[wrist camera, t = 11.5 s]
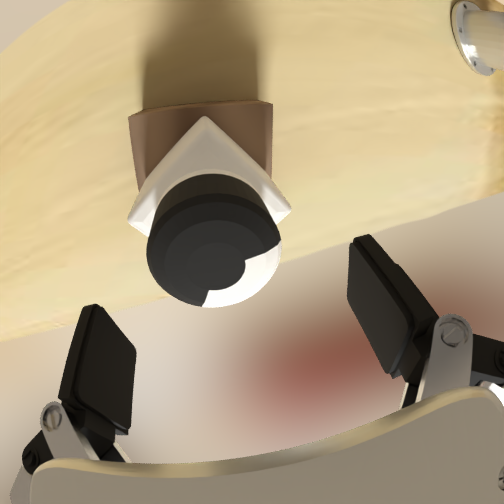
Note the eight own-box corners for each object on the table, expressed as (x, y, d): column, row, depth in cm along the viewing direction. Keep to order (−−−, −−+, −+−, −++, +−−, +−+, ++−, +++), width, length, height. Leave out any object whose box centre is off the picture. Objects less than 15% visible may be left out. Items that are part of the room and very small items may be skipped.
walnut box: (257, 100, 23) (272, 104, 19) (257, 200, 30) (269, 227, 25) (143, 109, 22) (128, 116, 17) (156, 210, 28) (149, 239, 23)
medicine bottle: (143, 180, 20) (102, 276, 11) (204, 113, 18) (211, 145, 9) (208, 230, 24) (221, 341, 14) (267, 173, 22) (328, 257, 12)
